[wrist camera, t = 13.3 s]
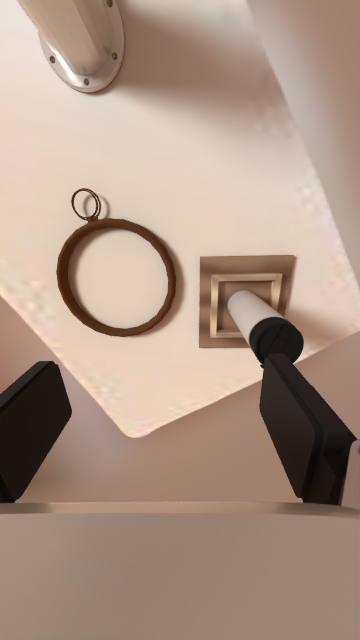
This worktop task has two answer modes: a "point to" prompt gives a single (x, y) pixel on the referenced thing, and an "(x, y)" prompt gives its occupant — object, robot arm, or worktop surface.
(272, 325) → the travel mug
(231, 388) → the worktop surface
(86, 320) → the decorative ring
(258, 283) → the walnut coaster board
